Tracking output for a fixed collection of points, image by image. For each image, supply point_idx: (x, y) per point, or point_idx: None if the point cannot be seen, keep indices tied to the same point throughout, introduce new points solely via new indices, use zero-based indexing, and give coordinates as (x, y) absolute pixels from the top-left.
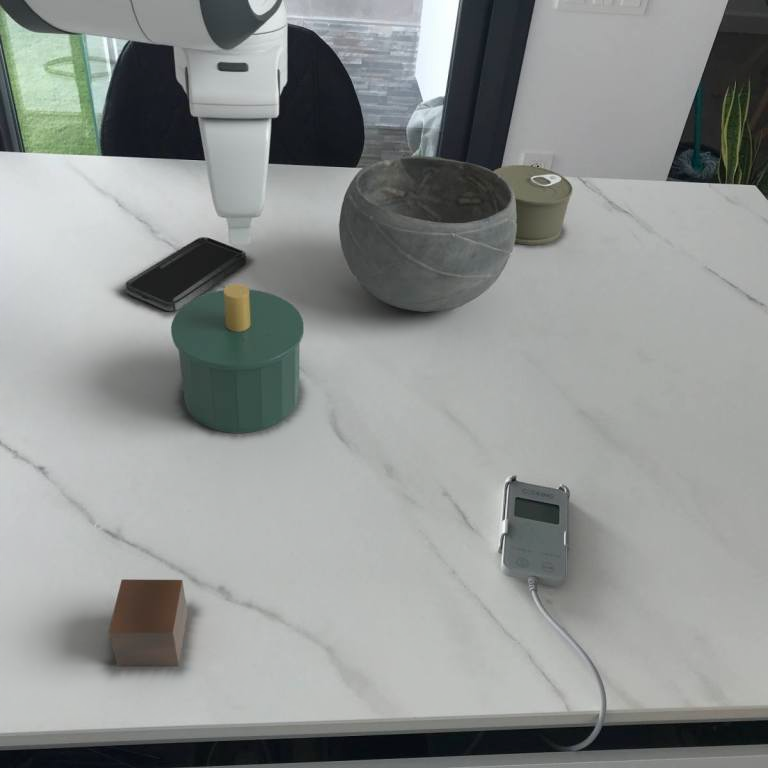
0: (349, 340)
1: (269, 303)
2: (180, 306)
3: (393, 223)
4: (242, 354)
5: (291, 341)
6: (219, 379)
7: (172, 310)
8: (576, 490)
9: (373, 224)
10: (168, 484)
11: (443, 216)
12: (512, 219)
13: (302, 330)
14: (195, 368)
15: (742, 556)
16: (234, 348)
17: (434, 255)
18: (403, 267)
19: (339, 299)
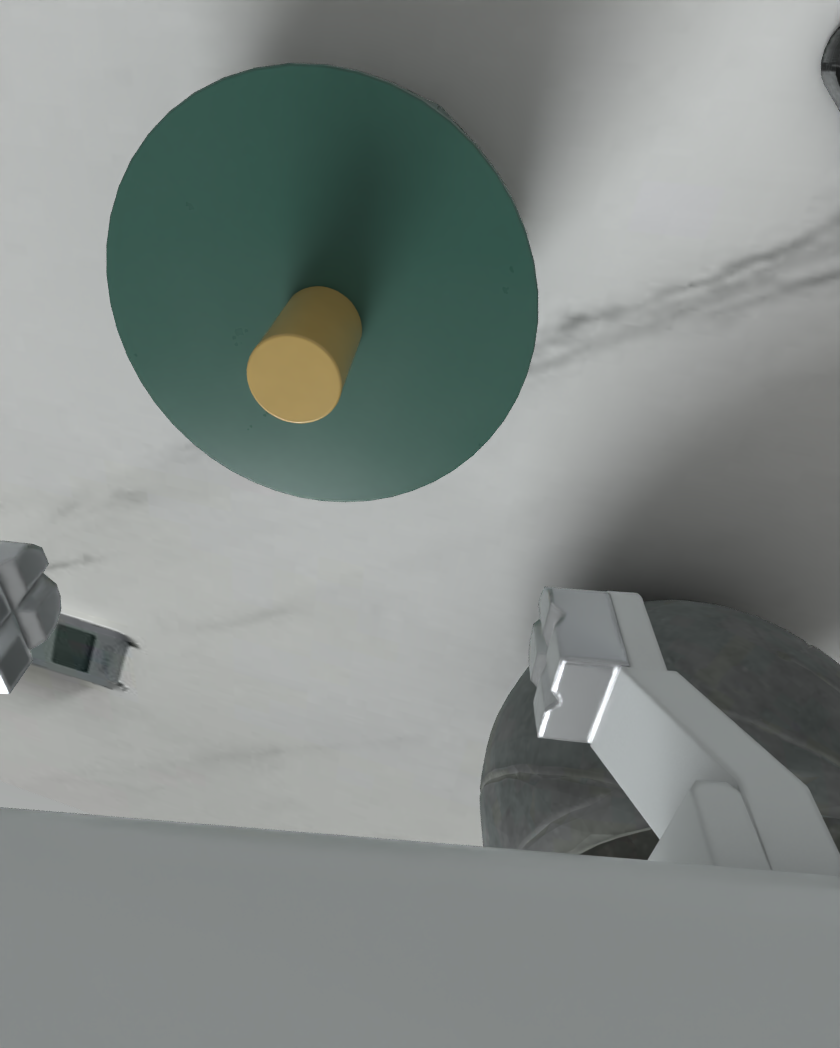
0: (520, 517)
1: (430, 433)
2: (832, 92)
3: (574, 821)
4: (166, 320)
5: (237, 459)
6: None
7: (824, 58)
8: (118, 697)
9: None
10: (21, 6)
11: None
12: None
13: (288, 493)
14: None
15: (38, 784)
16: (195, 299)
17: (492, 811)
18: (514, 738)
19: (681, 530)
